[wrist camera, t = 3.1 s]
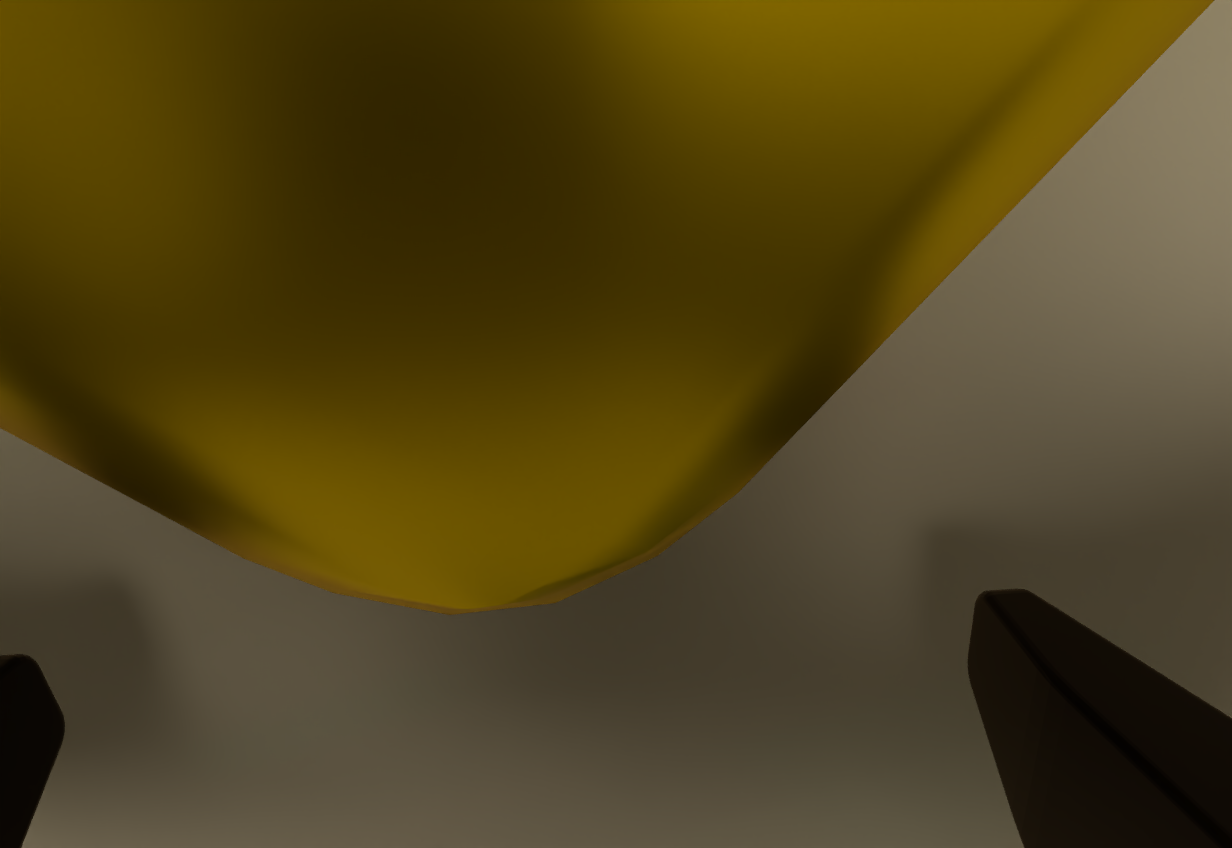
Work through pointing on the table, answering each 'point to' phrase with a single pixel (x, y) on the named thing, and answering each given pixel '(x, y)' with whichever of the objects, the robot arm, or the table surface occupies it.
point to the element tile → (496, 253)
